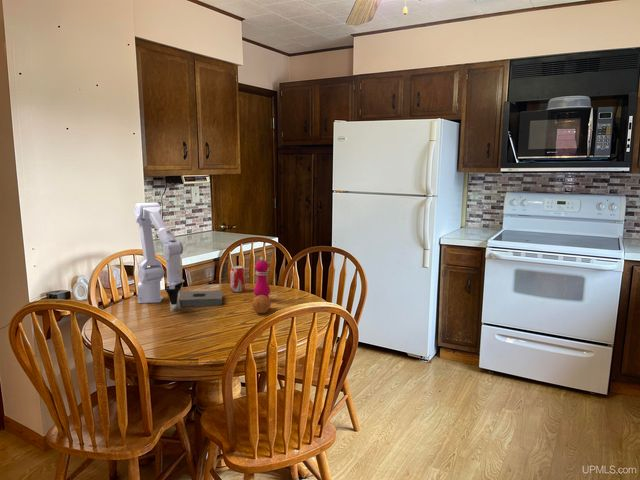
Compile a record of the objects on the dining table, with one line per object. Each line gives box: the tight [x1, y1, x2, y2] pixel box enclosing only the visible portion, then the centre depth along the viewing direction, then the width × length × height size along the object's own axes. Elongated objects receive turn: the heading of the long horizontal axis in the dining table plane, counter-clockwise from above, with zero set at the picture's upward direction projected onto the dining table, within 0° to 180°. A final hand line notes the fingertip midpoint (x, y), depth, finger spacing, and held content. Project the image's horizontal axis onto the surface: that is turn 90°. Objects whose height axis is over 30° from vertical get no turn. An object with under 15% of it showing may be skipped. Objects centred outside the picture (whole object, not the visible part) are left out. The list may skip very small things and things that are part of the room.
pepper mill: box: [253, 256, 271, 299], centre depth 214 cm, size 7×7×20 cm
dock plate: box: [180, 290, 224, 308], centre depth 213 cm, size 20×14×3 cm
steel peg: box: [169, 289, 181, 312], centre depth 200 cm, size 4×4×9 cm
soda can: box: [229, 265, 246, 293], centre depth 232 cm, size 7×7×12 cm
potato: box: [252, 295, 272, 314], centre depth 199 cm, size 7×13×7 cm, turn 174°
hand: (175, 301), depth 200 cm, fingers open, 7 cm apart
